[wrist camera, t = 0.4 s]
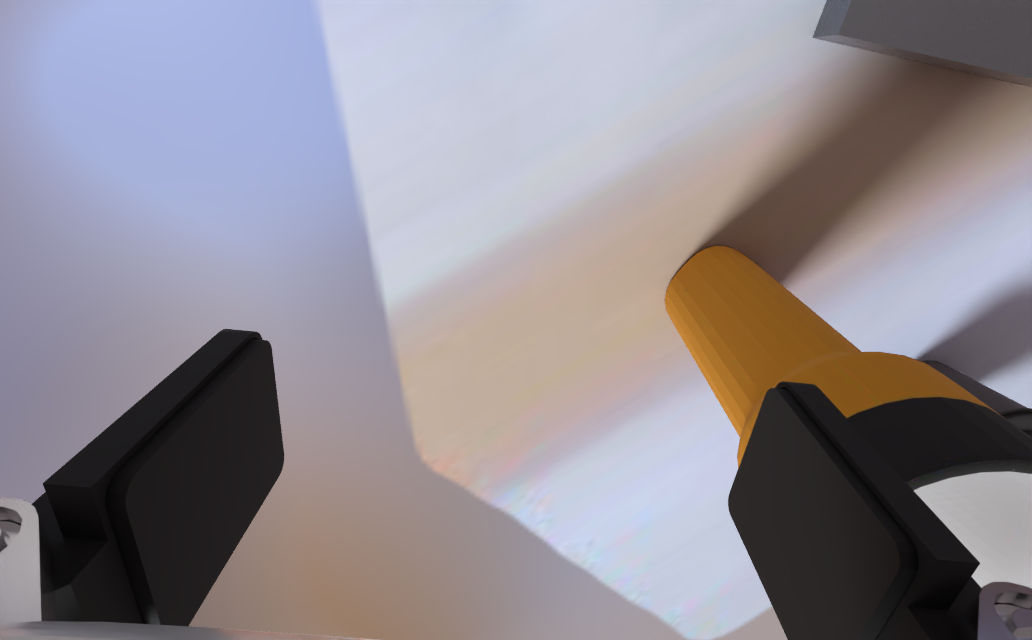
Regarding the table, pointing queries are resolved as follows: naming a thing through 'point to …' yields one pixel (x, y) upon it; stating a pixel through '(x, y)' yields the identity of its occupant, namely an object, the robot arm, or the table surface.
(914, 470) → the flashlight
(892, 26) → the grey slider panel
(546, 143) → the table surface
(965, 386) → the coffee cup
